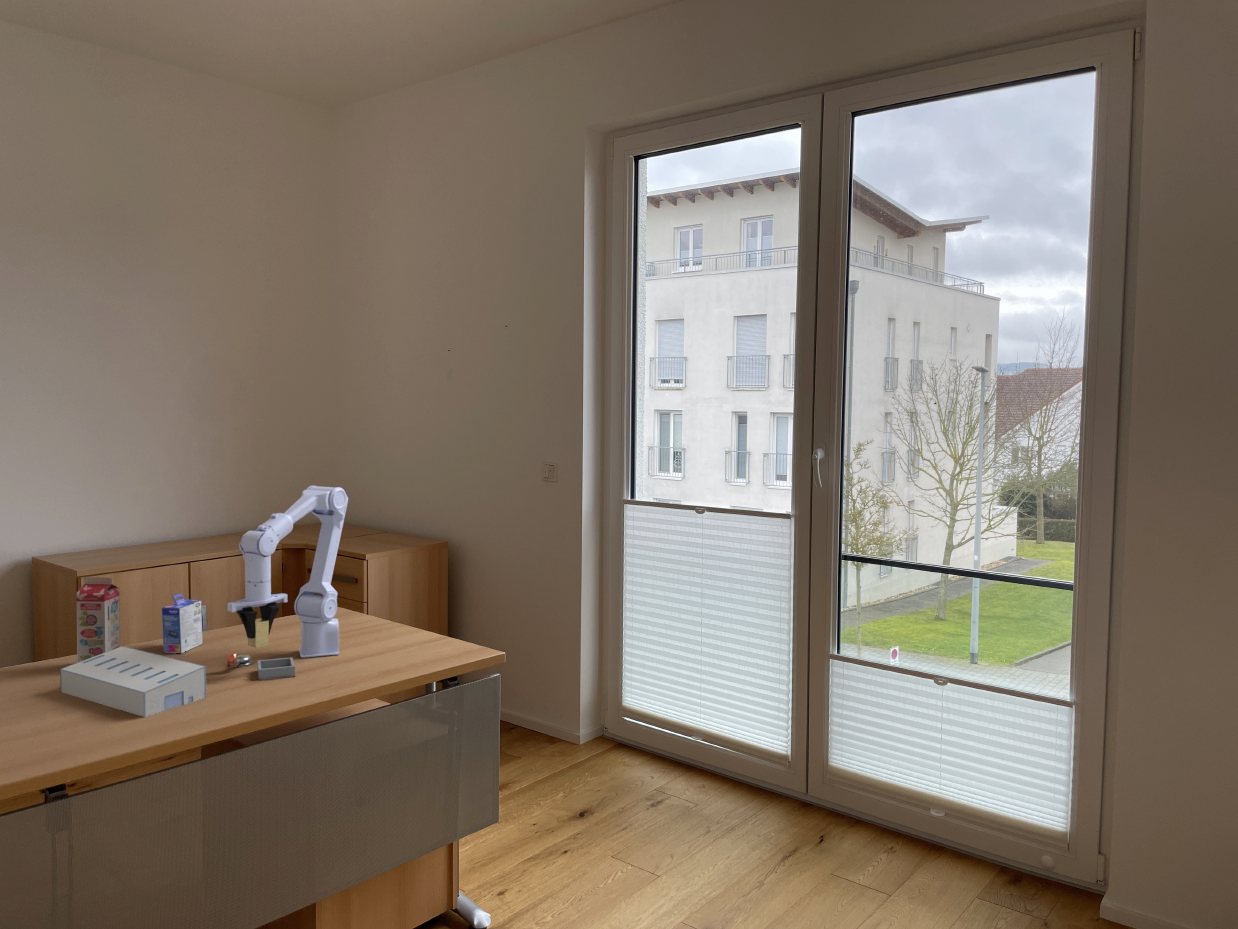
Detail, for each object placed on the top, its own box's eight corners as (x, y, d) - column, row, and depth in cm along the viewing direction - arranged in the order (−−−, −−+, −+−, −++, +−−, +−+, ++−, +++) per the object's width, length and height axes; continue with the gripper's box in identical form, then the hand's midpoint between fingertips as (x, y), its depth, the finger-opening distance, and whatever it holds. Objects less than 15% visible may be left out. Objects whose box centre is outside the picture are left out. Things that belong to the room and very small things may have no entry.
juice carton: (93, 661, 216) (91, 574, 215) (120, 662, 216) (119, 575, 215) (77, 669, 209) (76, 580, 208) (105, 670, 210) (104, 580, 208)
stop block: (260, 642, 211) (260, 618, 211) (268, 645, 209) (268, 620, 209) (247, 645, 209) (247, 620, 208) (255, 648, 207) (255, 623, 206)
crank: (236, 658, 219) (236, 644, 219) (252, 658, 219) (252, 644, 219) (221, 669, 210) (221, 654, 210) (237, 669, 210) (237, 655, 210)
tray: (292, 667, 215) (292, 657, 215) (294, 676, 208) (294, 666, 208) (257, 670, 212) (257, 660, 212) (258, 680, 205) (258, 669, 205)
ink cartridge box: (184, 643, 235) (183, 590, 234) (203, 644, 234) (203, 591, 233) (161, 653, 225) (160, 598, 224) (181, 654, 224) (181, 599, 223)
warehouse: (60, 694, 193) (59, 660, 193) (123, 677, 206) (122, 645, 206) (144, 719, 179) (144, 683, 179) (206, 699, 192) (205, 666, 192)
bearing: (252, 660, 220) (252, 658, 220) (253, 666, 216) (253, 664, 216) (230, 662, 218) (230, 660, 218) (230, 668, 214) (230, 666, 214)
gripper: (275, 574, 216) (276, 627, 217) (220, 582, 205) (220, 639, 205) (292, 577, 212) (292, 632, 213) (236, 587, 200) (236, 644, 201)
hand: (258, 636), depth 209 cm, fingers closed on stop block, 3 cm apart
